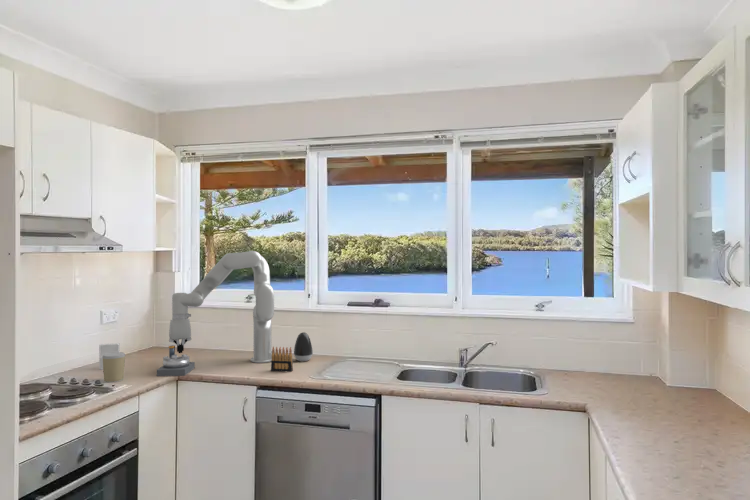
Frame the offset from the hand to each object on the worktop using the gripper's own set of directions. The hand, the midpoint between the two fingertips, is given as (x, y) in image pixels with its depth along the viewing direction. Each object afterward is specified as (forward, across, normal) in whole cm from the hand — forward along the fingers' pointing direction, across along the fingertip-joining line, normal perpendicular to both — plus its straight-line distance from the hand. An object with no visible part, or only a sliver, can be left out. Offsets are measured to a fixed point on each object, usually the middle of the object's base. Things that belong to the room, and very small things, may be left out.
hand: (180, 352), depth 251 cm
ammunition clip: (+8, -42, +34) cm, 55 cm away
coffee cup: (+7, +30, +13) cm, 34 cm away
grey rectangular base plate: (+7, +3, +10) cm, 13 cm away
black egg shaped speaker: (+8, -60, +17) cm, 63 cm away
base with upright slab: (+7, +32, -15) cm, 36 cm away
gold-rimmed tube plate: (+4, +3, +7) cm, 9 cm away
